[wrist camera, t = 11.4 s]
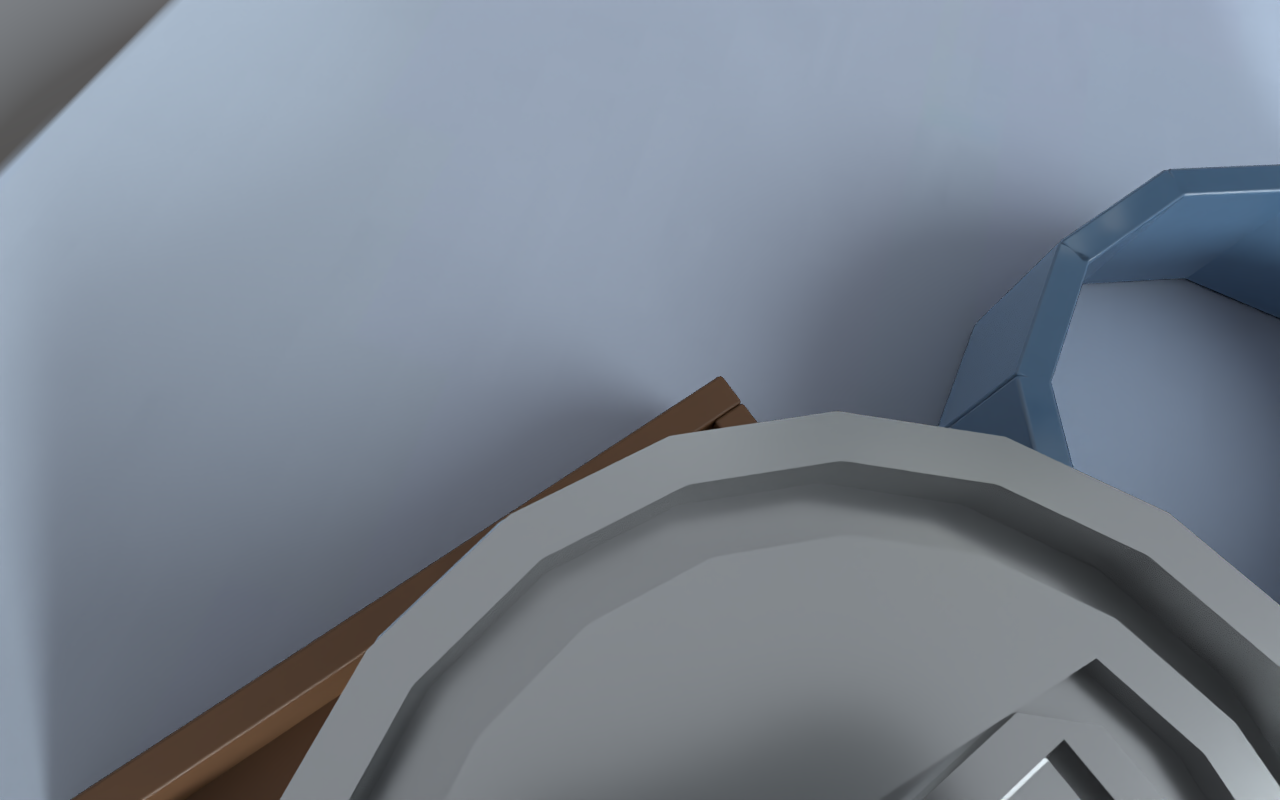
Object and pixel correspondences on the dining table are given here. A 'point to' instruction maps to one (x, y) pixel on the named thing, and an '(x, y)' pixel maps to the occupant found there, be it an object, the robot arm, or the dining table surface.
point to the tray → (337, 664)
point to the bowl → (1116, 252)
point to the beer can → (820, 637)
